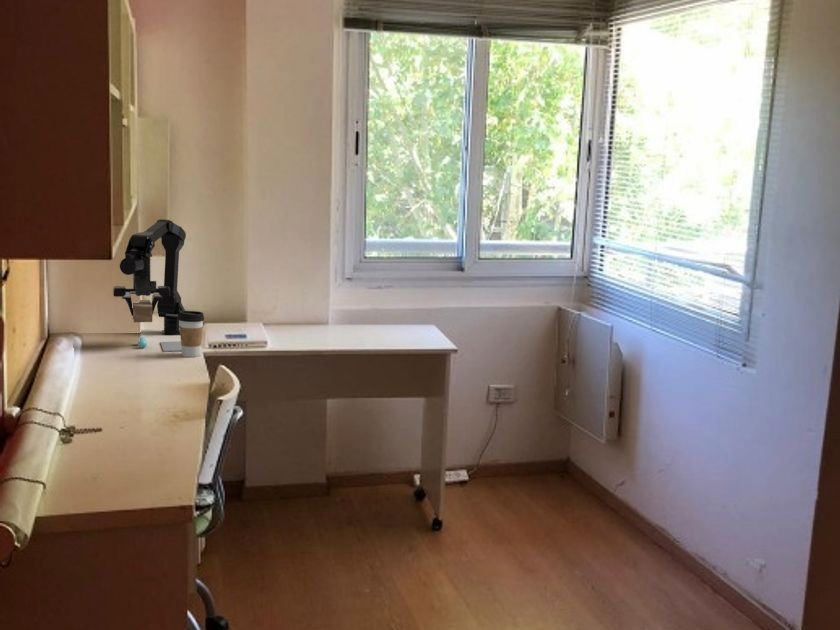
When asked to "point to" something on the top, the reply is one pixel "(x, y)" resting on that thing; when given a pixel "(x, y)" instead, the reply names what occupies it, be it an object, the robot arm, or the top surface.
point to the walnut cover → (142, 311)
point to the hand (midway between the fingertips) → (141, 315)
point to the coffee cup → (191, 332)
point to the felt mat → (171, 346)
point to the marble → (142, 343)
